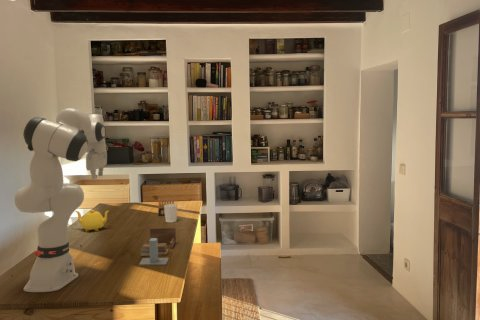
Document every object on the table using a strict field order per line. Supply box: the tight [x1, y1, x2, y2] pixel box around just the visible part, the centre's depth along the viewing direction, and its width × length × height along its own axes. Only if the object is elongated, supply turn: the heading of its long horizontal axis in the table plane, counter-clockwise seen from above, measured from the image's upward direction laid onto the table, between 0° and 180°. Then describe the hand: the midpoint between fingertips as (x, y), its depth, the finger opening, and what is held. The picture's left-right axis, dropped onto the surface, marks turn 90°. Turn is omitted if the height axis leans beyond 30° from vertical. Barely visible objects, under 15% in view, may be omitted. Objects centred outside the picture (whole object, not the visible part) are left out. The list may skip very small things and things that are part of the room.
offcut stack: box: [140, 242, 169, 257], centre depth 208 cm, size 5×12×4 cm, turn 91°
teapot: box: [75, 209, 110, 232], centre depth 255 cm, size 20×15×12 cm
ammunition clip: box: [157, 197, 175, 217], centre depth 285 cm, size 11×2×12 cm, turn 89°
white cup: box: [164, 203, 178, 223], centre depth 270 cm, size 8×8×10 cm
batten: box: [148, 238, 159, 263], centre depth 197 cm, size 4×3×10 cm
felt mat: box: [138, 257, 170, 266], centre depth 197 cm, size 8×12×1 cm, turn 91°
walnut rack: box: [149, 227, 177, 249], centre depth 221 cm, size 10×13×8 cm
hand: (97, 177), depth 207 cm, fingers open, 8 cm apart
